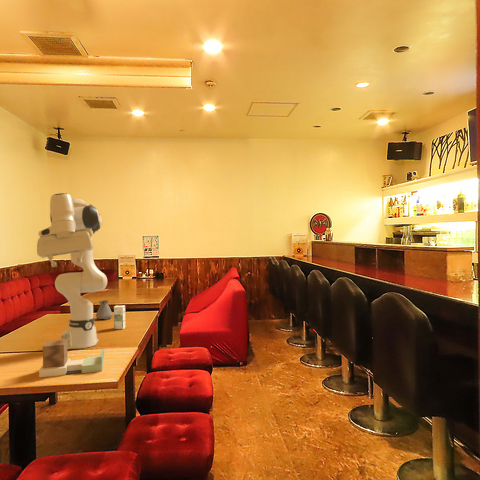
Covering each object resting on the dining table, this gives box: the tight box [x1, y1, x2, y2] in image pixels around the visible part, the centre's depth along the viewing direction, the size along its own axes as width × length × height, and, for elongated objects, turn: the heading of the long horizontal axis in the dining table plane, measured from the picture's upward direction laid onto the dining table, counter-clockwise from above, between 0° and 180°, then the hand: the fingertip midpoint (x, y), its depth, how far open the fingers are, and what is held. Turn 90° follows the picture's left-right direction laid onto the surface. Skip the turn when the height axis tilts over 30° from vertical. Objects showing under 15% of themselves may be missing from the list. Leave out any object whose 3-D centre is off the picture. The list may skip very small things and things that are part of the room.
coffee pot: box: [95, 299, 114, 320], centre depth 261 cm, size 21×12×15 cm, turn 18°
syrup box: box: [113, 304, 126, 330], centre depth 235 cm, size 6×6×14 cm
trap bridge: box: [38, 349, 105, 378], centre depth 159 cm, size 24×12×6 cm, turn 106°
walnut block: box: [42, 339, 68, 368], centre depth 158 cm, size 8×8×9 cm
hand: (67, 264), depth 144 cm, fingers open, 8 cm apart
